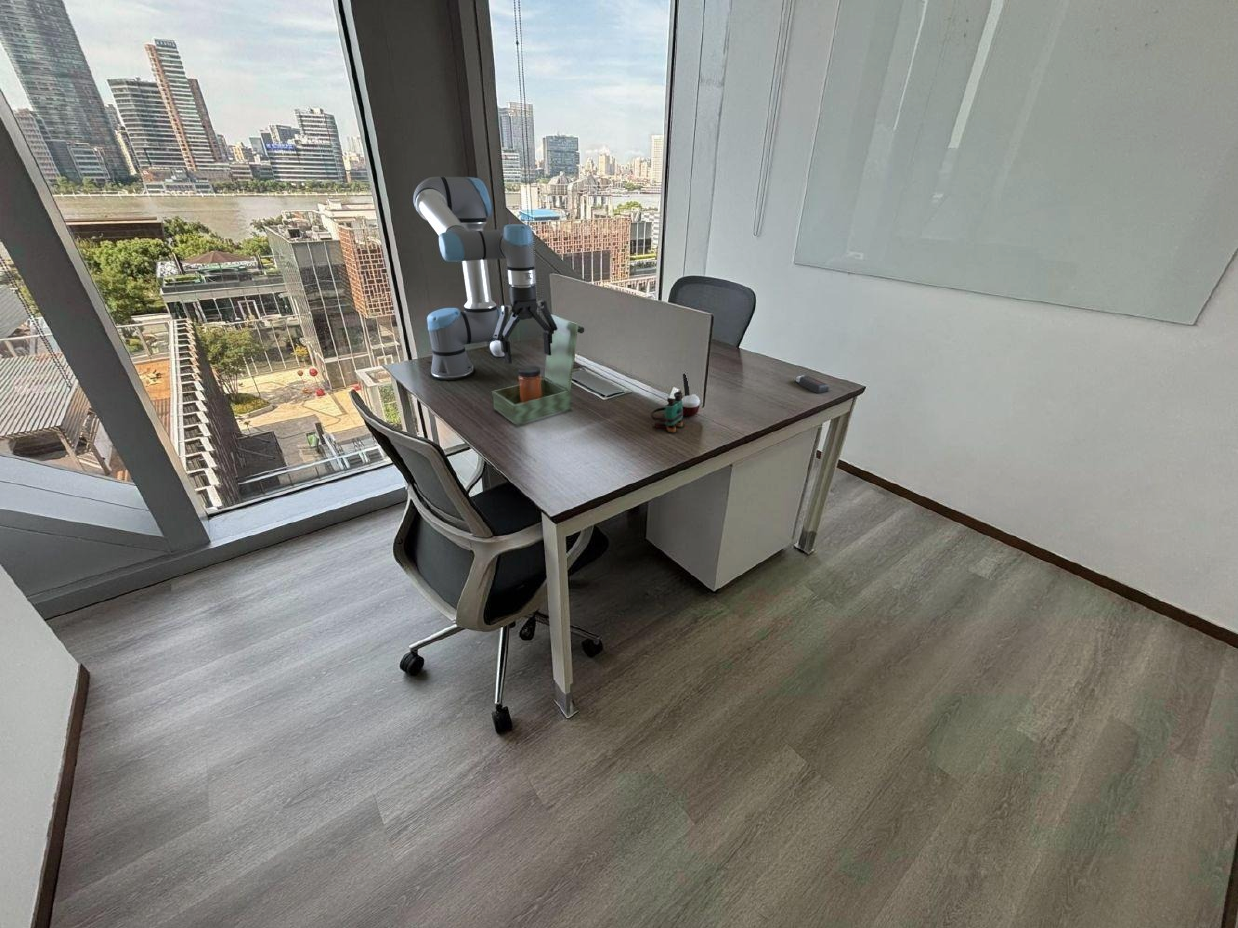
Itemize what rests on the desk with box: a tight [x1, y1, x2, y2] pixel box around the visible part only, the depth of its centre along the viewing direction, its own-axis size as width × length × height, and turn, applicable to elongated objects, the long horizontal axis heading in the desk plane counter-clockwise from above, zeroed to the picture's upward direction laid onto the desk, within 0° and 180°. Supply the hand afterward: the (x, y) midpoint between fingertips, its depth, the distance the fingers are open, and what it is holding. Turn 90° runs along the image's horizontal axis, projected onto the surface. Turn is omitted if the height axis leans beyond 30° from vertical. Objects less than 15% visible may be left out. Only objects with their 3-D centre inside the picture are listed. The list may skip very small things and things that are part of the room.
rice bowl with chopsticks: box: [681, 373, 701, 418], centre depth 154 cm, size 10×6×12 cm, turn 173°
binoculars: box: [650, 391, 684, 433], centre depth 147 cm, size 9×11×10 cm
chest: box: [491, 377, 571, 425], centre depth 156 cm, size 20×15×7 cm
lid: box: [544, 313, 585, 391], centre depth 157 cm, size 20×15×6 cm
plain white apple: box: [489, 340, 505, 358], centre depth 203 cm, size 7×7×8 cm
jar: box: [517, 364, 543, 403], centre depth 154 cm, size 7×7×13 cm
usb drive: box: [795, 375, 830, 394], centre depth 179 cm, size 5×12×3 cm, turn 25°
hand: (528, 358), depth 148 cm, fingers open, 13 cm apart
